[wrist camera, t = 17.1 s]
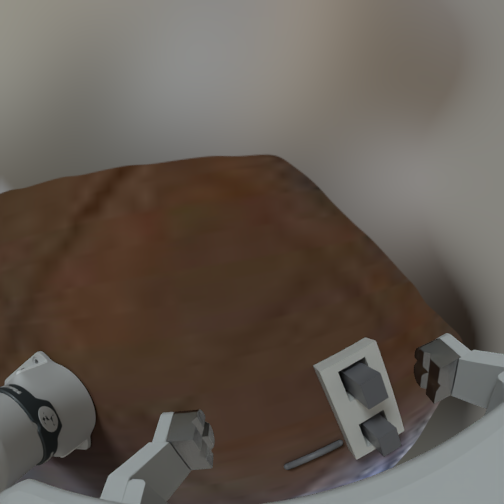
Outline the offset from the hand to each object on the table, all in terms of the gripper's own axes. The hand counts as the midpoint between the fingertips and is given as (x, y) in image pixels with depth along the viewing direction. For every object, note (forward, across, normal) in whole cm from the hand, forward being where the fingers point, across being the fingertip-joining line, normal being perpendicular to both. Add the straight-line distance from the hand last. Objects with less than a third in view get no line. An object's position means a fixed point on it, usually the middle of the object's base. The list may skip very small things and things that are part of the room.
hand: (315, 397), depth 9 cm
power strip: (+23, -3, +27) cm, 36 cm away
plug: (+25, -8, +22) cm, 34 cm away
